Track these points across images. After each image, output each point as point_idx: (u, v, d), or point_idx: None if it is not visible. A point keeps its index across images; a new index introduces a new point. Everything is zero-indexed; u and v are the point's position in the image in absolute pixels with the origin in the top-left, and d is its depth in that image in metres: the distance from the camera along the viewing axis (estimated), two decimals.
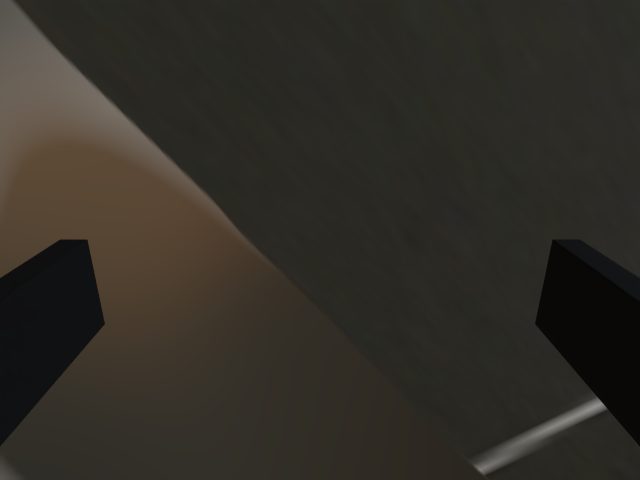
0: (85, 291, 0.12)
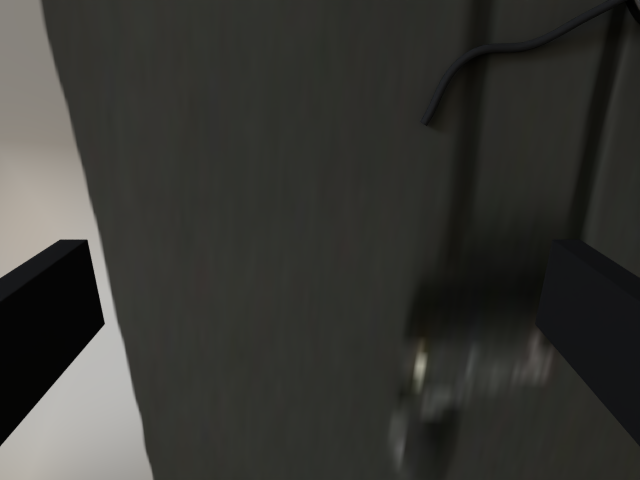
0: (85, 291, 0.12)
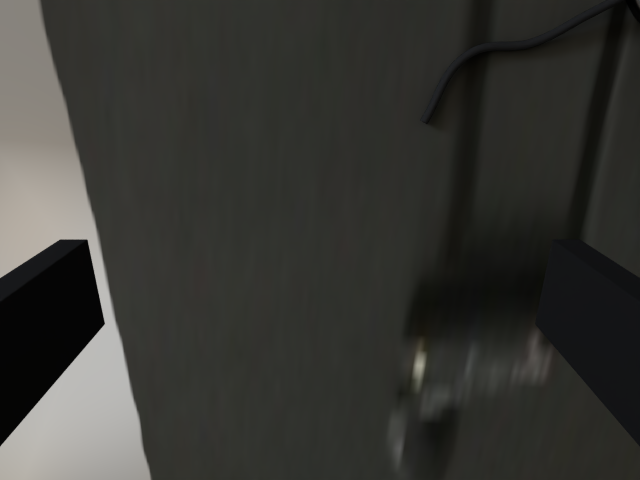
0: (85, 291, 0.12)
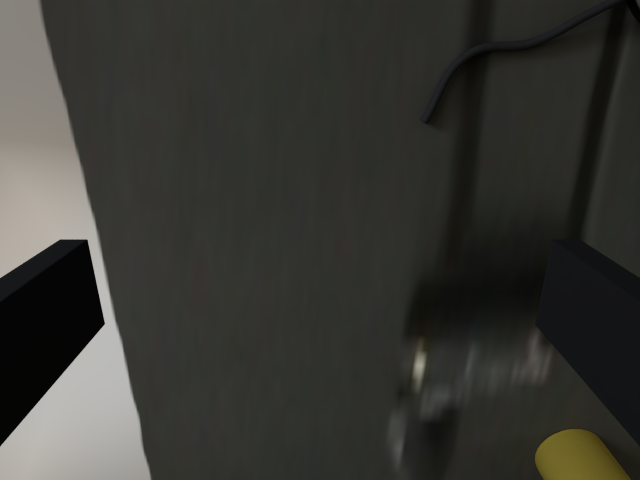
0: (85, 291, 0.12)
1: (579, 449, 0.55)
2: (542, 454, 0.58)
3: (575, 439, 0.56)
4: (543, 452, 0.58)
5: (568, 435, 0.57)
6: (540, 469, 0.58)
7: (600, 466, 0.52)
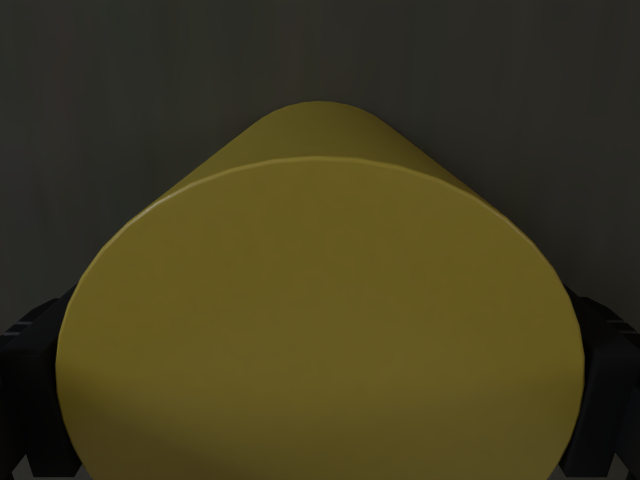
0: None
1: (281, 113, 0.14)
2: None
3: (294, 106, 0.16)
4: None
5: (282, 109, 0.17)
6: None
7: (308, 115, 0.12)
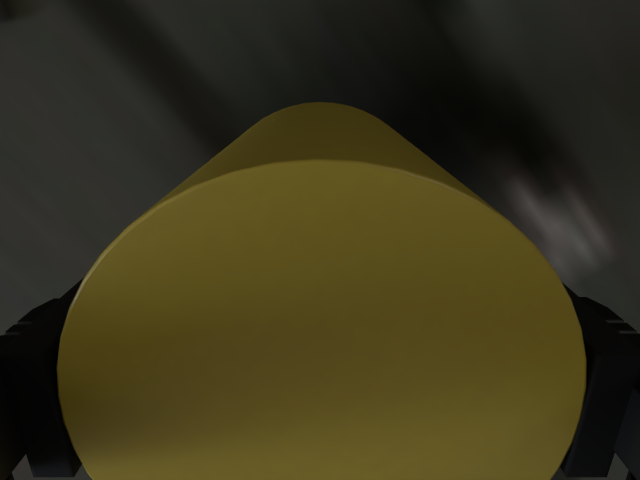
0: None
1: (282, 114, 0.14)
2: None
3: (295, 108, 0.16)
4: None
5: (283, 110, 0.17)
6: None
7: (308, 117, 0.12)
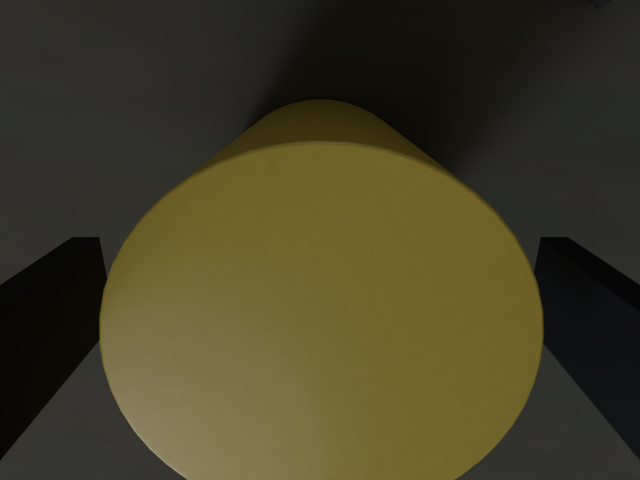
0: (97, 288, 0.12)
1: (285, 109, 0.16)
2: None
3: (297, 104, 0.17)
4: None
5: (286, 106, 0.18)
6: None
7: (310, 111, 0.13)
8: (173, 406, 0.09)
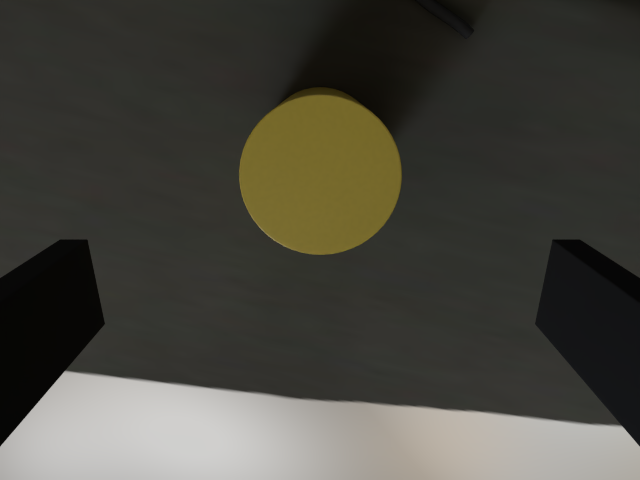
0: (85, 291, 0.12)
1: (302, 91, 0.31)
2: None
3: (308, 89, 0.33)
4: None
5: None
6: None
7: (315, 90, 0.29)
8: (264, 199, 0.25)
